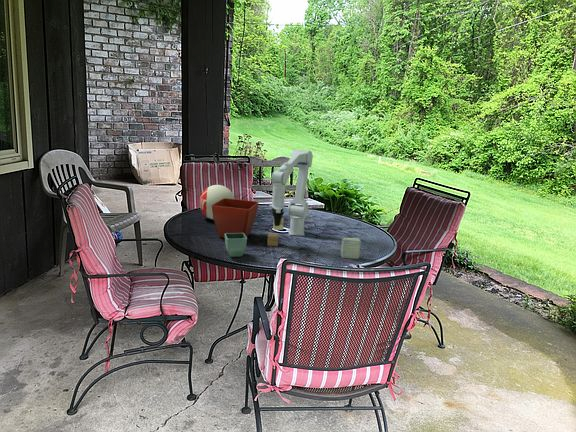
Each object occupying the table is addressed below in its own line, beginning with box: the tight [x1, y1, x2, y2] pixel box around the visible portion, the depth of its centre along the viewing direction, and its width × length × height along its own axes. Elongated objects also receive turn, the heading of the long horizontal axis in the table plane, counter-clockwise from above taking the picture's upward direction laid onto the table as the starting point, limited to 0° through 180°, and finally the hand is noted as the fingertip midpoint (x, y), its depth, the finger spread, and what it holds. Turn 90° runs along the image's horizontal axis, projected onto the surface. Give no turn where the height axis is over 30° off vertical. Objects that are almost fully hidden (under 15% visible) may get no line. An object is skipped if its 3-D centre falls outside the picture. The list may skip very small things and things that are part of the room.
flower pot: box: [224, 233, 248, 258], centre depth 206 cm, size 9×9×9 cm
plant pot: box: [212, 198, 259, 239], centre depth 235 cm, size 19×19×17 cm
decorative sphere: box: [198, 184, 236, 221], centre depth 264 cm, size 20×20×20 cm
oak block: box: [272, 216, 285, 231], centre depth 225 cm, size 4×4×6 cm
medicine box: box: [340, 237, 362, 260], centre depth 214 cm, size 8×4×9 cm, turn 92°
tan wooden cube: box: [267, 232, 279, 247], centre depth 226 cm, size 5×5×5 cm
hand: (276, 224), depth 225 cm, fingers closed on oak block, 4 cm apart
